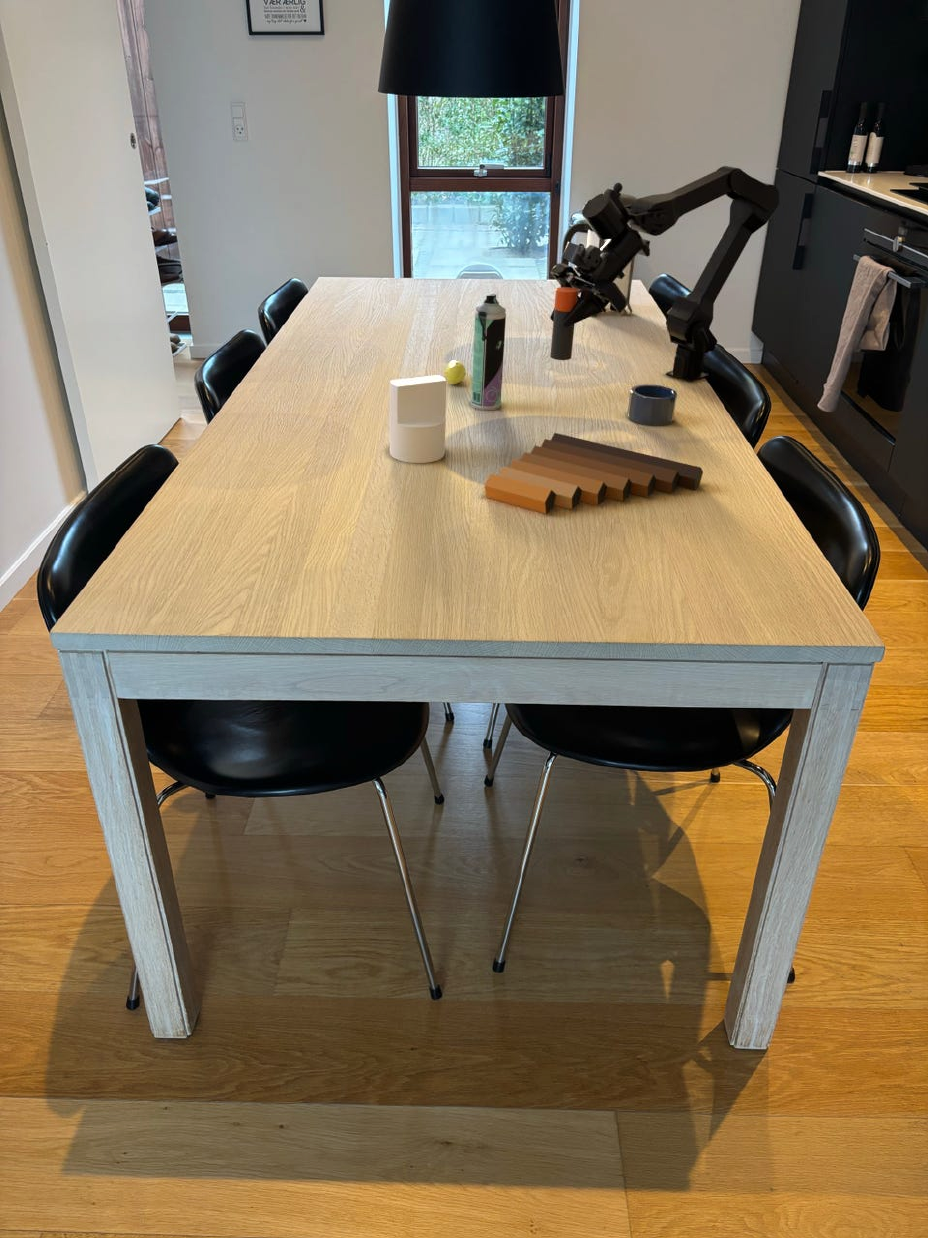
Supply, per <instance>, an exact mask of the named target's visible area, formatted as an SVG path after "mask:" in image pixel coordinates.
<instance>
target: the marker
mask: <svg viewBox="0 0 928 1238" xmlns="http://www.w3.org/2000/svg"><path fill="white" fill-rule="evenodd" d="M578 296H579V295H578V290H577V289H575V288H570V287H561V286H559V287H556V288H555V293H554V308H553V310H554V320H553V321H552V333H551V343H550V344H551V345H550V355H549V357H550V358H551V359H552V360H557V361H569V360H571V359H572V356H573V355H572V354H573V346H574V345H573V344H574V335H575V325H576V323H575V324H573V325H571V326H569V327H564V326H563V324H562V323H563V321H564V320H565V318H566V317H567V315H568V314H569V312H570V311H571V310H572V308H573V307H574V306H575V304H576V303H577V297H578Z"/></svg>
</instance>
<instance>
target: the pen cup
mask: <svg viewBox="0 0 928 1238" xmlns="http://www.w3.org/2000/svg"><path fill="white" fill-rule="evenodd" d="M629 391H630V392H629V398H628V406H627V419H628V420H630V421H631V422H633V423H636V424H640V425H644V426H650V427H651V426H652V427H661V426H667V425H670V424H671V423H672V422H673V420H674V417H675V410H676V404H677V398H678V393H677V391H676V390H675V389H673V388H671V387H668V386H664V385H660V384H646V383H645V384H637V385H634V386H632V387H631V388H630V390H629Z"/></svg>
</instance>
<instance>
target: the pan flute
mask: <svg viewBox="0 0 928 1238" xmlns="http://www.w3.org/2000/svg"><path fill="white" fill-rule="evenodd" d="M703 473H704V471H703V469H702V467H700V466H697V465H692V464H688V463H684V462H680V461H675V460H670V459H667V458H662V457H659V456H654V455H651V454H650V455H649V454H646V453H641V452H637V451H633V450H629V449H625V448H621V447H617V446H612V445H607V444H605V443H600V442H595V441H591V440H587V439H583V438H578V437H574V436H570V435H566V434H561V433H557V432H554V433H553V436H552V437H551V438H550V439H546V438H544V440H543V442H542V444H541V446H539V445H534V446H533V448H532V450H531V452H530V453H529V452H527V451H524V452H523V454H522V455H521V458H520V460H519V459H515V458H514V459H512V461H511V463H510V465H509V466H508V467H507V466H501V468H500V470H499V471H498V474H495V473H490V474H489V476H488V478H487V480H486V482H485V483H484V493H485V498H488V499H490V500H494V501H498V502H502V503H505V504H509V505H513V506H516V507H520V508H523V509H527V510H531V511H534V512H538V513H541V514H545V515H546V514H548V513H549V512H551V511H552V510H553V509H554V506H557V507H560V508H564V509H568V510H571V511H572V510H574V509H575V508H576V507H578V506H579V505H580V502H583V503H586V504H589V505H593V506H597V507H598V506H600V505H601V504H602V503H603V502H604V501H605V498H606V499H607V498H608V499H611V500H614V501H619V502H624V501H626V499H628V498H629V496H630V495H635V496H639V497H642V498H647V499H648V498H649V497H650V496H651V495H652V494H653V493H654V491H659V492H662V493H665V494H670V495H672V494H673V493H674V492H675V491H676V490H677V488H678V487H680V488H684V489H688V490H692V491H696V490H697V489H698V488H699V487H700V485H701V482H702V479H703Z"/></svg>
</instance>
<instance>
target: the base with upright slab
mask: <svg viewBox="0 0 928 1238" xmlns="http://www.w3.org/2000/svg"><path fill="white" fill-rule="evenodd" d="M446 405H447V378H446V377H443V376H441V375H439V374H435V375H427V376H419V377H411V378H401V379H392V380H389V455H390V456H391V458H394V459H395V460H398V461H401V462H405V463H411V464H426V463H432V462H436V461H439V460H441V459H442V458H443V457H444V456H445V454H446V422H447V421H446V419H447V418H446V412H447V411H446V409H447V406H446Z"/></svg>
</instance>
